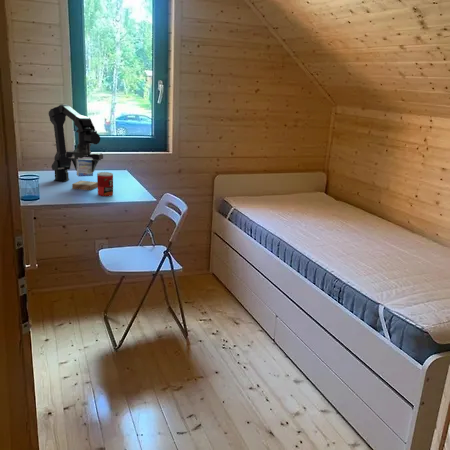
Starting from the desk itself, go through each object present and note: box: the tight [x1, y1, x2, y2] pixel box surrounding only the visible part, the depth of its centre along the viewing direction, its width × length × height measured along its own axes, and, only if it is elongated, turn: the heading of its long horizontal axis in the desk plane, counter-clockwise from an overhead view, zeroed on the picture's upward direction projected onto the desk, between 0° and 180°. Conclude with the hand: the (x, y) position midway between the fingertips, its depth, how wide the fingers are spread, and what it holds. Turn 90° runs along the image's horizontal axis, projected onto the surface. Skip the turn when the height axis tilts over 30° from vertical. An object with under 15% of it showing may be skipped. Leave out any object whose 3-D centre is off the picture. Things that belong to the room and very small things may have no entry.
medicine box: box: [76, 158, 94, 177], centre depth 254 cm, size 8×4×9 cm, turn 118°
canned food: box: [96, 171, 114, 197], centre depth 243 cm, size 8×8×11 cm
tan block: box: [71, 180, 98, 191], centre depth 257 cm, size 10×10×3 cm
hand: (84, 171), depth 255 cm, fingers closed on medicine box, 9 cm apart
